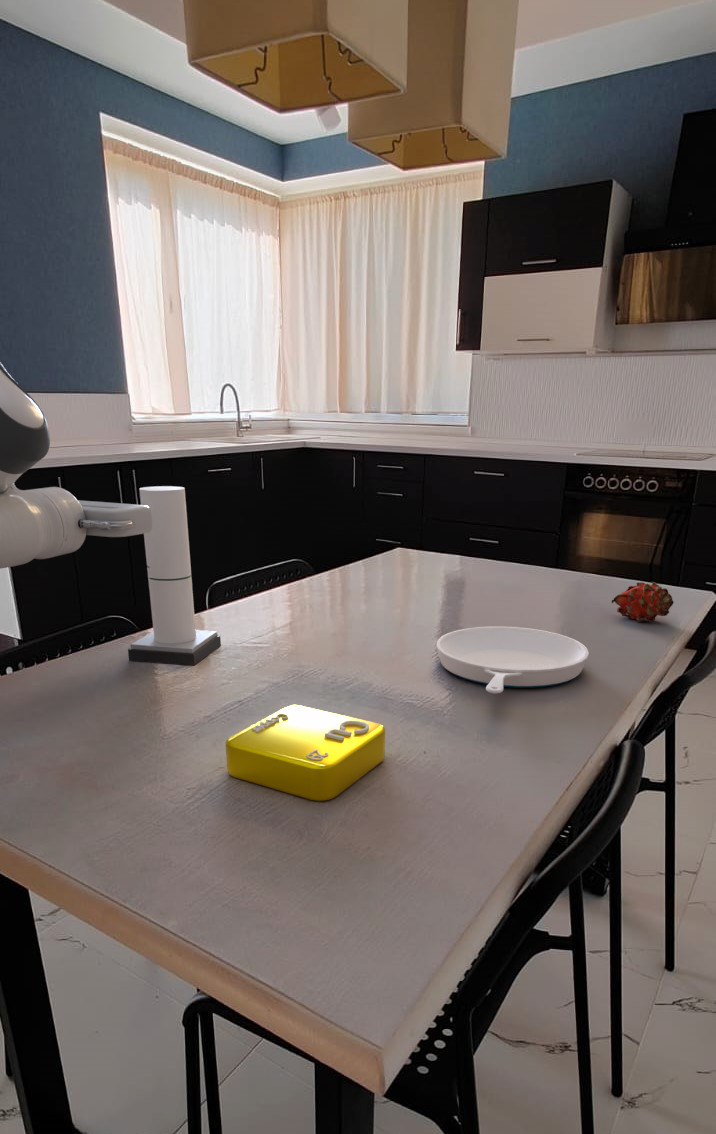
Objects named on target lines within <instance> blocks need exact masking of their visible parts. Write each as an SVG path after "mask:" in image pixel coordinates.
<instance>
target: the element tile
mask: <svg viewBox="0 0 716 1134" xmlns="http://www.w3.org/2000/svg"><path fill="white" fill-rule="evenodd" d="M224 743H225V754H226V755H225V759H226V770H227V773H228V775H230V776H231V777H233V778H235V779H238V780H242V781H245V782H248V783H253V784H255V785H259V786H263V787H265V788H268V789H273V790H276V791H280V792H283V793H286V794H290V795H293V796H296V797H300V798H303V799H306V800H310V801H316V802H325V801H330V800H332V799H334V798H336V797H338V796H339V795H340V794H341V793H343V792H344V791H346V790H347V789H348V788H349V787H351V786H352V785H354V783H356V782H357V781H359V780H360V779H361V778H362V777H364V776H365V775H366V774H368V773H369V772H370V771H372V770H373V769H374V768H376V767H377V766H378V765H380V764H381V763H382V762H383V761H384V759H385V756H386V728H385V726H384V725H383V724H381V723H377V722H374V721H369V720H365V719H361V718H356V717H352V716H348V715H342V714H338V713H334V712H329V711H325V710H321V709H318V708H317V709H316V708H312V707H308V706H303V705H298V704H291V705H289V706H285V707H283V708H281V709H279V710H278V711H275V712H273V713H272V714H269V715H268V716H266V717H264V718H262V719H260V720H259V721H257V722H255V723H253V724H251V725H249V726H248V727H245V728H243V729H241V730H240V731H238V732H236V733H234V734H232V735H230V736H229V737H228V738H227V739H226V740H225V742H224Z"/></svg>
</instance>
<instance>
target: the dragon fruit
mask: <svg viewBox="0 0 716 1134" xmlns="http://www.w3.org/2000/svg"><path fill="white" fill-rule="evenodd" d="M650 583H651V584H649V583H645V582H641V581H640V582H639V581H637V582H636V585H629V586H628V588H627V589H626V590H625V591H621V592H620V593H619V594H617V595H615V597H613V599H612V600H611V604H614V603H615V604H616V605H617V606H619V607H617V608H616V612H617V613H619V614H620V615H621V616H622V617H625V618H629V619H631V620H634V619H636V622H637V623H638V622H641V621H645V620H646V621H647V622H654V621H655V620H656V617H658V616H659V617H666V616H667V615H669V614H670V609H671V607H673V605H674V603H675V602H674V600H673V596H672V595H671V594H670V593H669V590H668V589H667V588H665V587H663V588H662V586H661V585H659V584H657V582H654V581H651V582H650Z"/></svg>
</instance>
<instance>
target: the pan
mask: <svg viewBox="0 0 716 1134" xmlns="http://www.w3.org/2000/svg"><path fill="white" fill-rule="evenodd" d="M435 646H436V648H437V655H438V659H439V661H440V664H441V666H442V667H443V668H444V669H446V670H447V671H448V672H450V673H451V674H453V675H454V676H457V677H459V678H462V679H464V680H468V681H471V682H474V683H477V684H482V685H486V687H485V691H486V692H488V693H490V694H501V693H503V691H504V688H515V689H516V688H517V689H518V688H519V689H521V688H523V689H524V688H525V689H530V688H531V689H532V688H544V687H550V686H556V685H560V684H564V683H566V682H568V681H572V680H574V679H575V678H576V677H578V676H579V675H580V674H581V673H582V671H583V669H584V667H585V664H586V661H587V660H588V657H589V655H590V654H589V649H588V648H587V647H586V646H585V645H584V643H582V642H580V641H578V640H577V639H574V638H572V637H569V636H567V635H563V634H560V633H556V632H553V631H547V630H542V629H536V628H529V627H519V626H497V625H496V626H495V625H494V626H492V625H491V626H476V627H467V628H462V629H457V630H454V631H450V632H448V633H445V634H443V635H441V636H440V637H439V638H438V639H437V640H436V644H435Z"/></svg>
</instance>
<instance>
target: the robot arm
mask: <svg viewBox="0 0 716 1134" xmlns="http://www.w3.org/2000/svg"><path fill="white" fill-rule="evenodd" d="M50 445H51V439H50V430H49V425H48V422H47V419H46V415H45V414H44V412H43V410H42V408H41V407H40V406H39V404H38V403H37V402H36V400H35V399H34V398H33V397H32V396H31V395H30V394H29V393H28V392H27V391H26V390H25V389H24V388H23V387H22V386H20V384H19V383H18V382H16V380H15V379H14V378H13V377H12V376H11V374H10V373H9V372H8V371H7V369H6V368H5V367H4V365H3V364H2V362H1V361H0V570H1V569H7V568H12V567H16V566H17V567H18V566H21V565H24V564H25V565H26V564H28V563H29V562H31V561H33V560H34V559H36V560H46V559H51V558H55V557H59V556H64V555H68V554H71V553H74V552H76V551H78V550H79V549H80V548H81V546H83V544H84V542H85V540H86V537H87V536H95V537H106V538H123V537H131V536H137V535H144V533H148V532H150V531H151V530H152V514H151V510H150V508H149V507H148V506H146V505H141V504H135V503H134V504H133V503H132V504H131V503H119V502H107V501H106V502H105V501H91V500H80V499H79V500H78V499H77V497H75V496H74V495H73V494H72V493H71V492H70V491H68V490H66V489H65V488H62V487H58V486H49V487H42V488H31V489H25V490H23V489H20V488H17V487H16V485H15V482H16V481H17V480H18V479H19V478H20V477H21V476H22V475H23V474H24V473H26V472H27V471H28V470H30V469H31V468H32V467H34V466H35V465H36V464H38V463H39V462H40V461H41V460H42V459H44V458H45V457H46V456H47V455H48V453H49V450H50V447H51V446H50Z"/></svg>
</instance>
